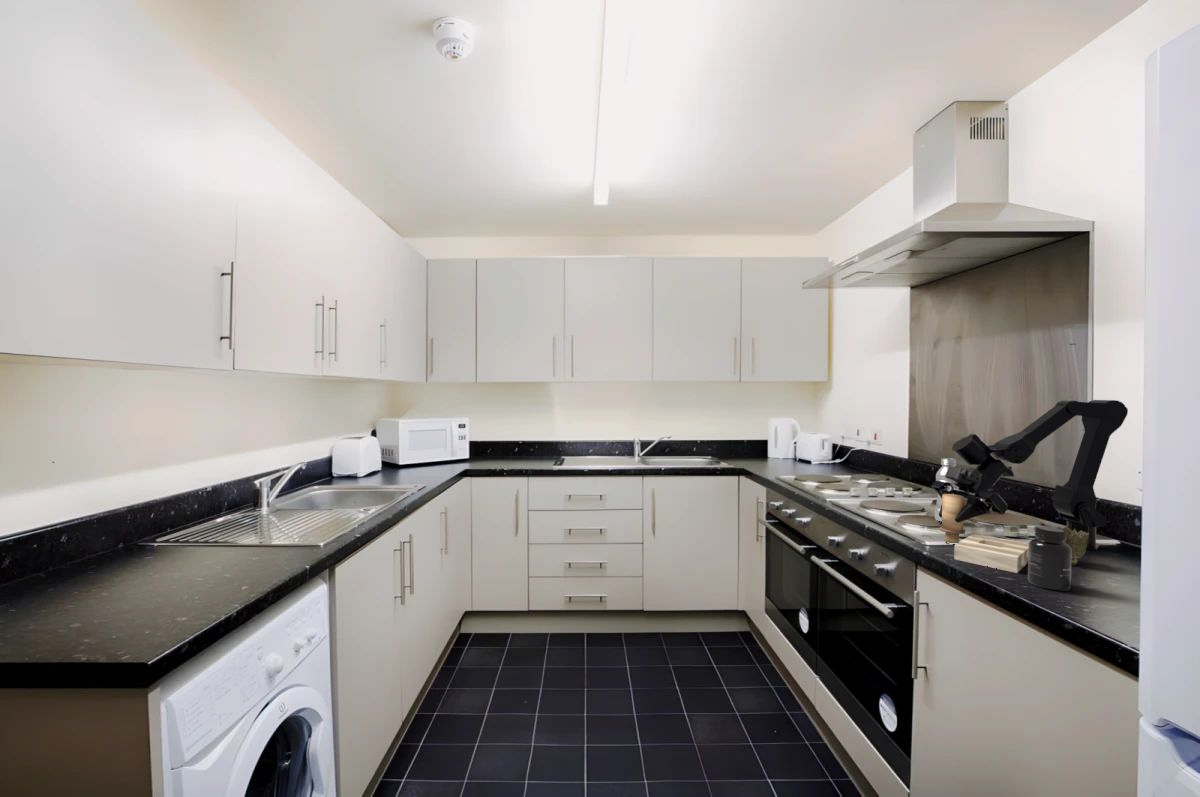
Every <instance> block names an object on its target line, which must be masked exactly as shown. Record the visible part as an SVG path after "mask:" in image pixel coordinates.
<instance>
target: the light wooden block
mask: <svg viewBox="0 0 1200 797" xmlns="http://www.w3.org/2000/svg"><path fill="white" fill-rule="evenodd" d="M953 546H954V550H953V551H954V553H953V554H954V555H953V558H954V560H956V561H961V562H965V563H969V564H974V565H979V566H982V567H983V566H984V567H987V566H988V567H987V568H993V569H996V568H997V569H996V570H1001V571H1006V572H1010V573H1015V574H1018V573H1019V572H1020V571H1021V570H1023V568H1024V567H1025V566H1027V565H1028V553H1029V542H1028V543H1027V542H1022V541H1017V540H1012V539H1006V538H1002V537H1001V538H1000V537H996V536H990V535H986V534H985V535H983V534H979V533H974V532H973V533H971V534H970V535H969V536H967V537H965V538H963V539H962V540H959V542H958V543H957V544H955V545H953Z"/></svg>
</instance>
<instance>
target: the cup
mask: <svg viewBox="0 0 1200 797" xmlns="http://www.w3.org/2000/svg"><path fill="white" fill-rule="evenodd" d="M1056 528H1058V529H1062V530H1064V531H1066V540H1065V541H1064V542H1065V543H1066V544H1068V545H1069V546H1070V547H1071V549H1072V561H1071V566H1075V565H1076V564H1077V563H1078V559H1081V558H1082V557H1084V555H1085V554H1086V551H1087V549H1086V548H1087V543H1088V537H1089V533H1087V534H1086V532H1082V530H1081V531H1079V532H1078V533H1077V531H1076V529H1074V530H1073V531H1072V530H1070V529H1069V528H1067V526H1064V527H1060V526H1057V527H1056Z"/></svg>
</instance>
